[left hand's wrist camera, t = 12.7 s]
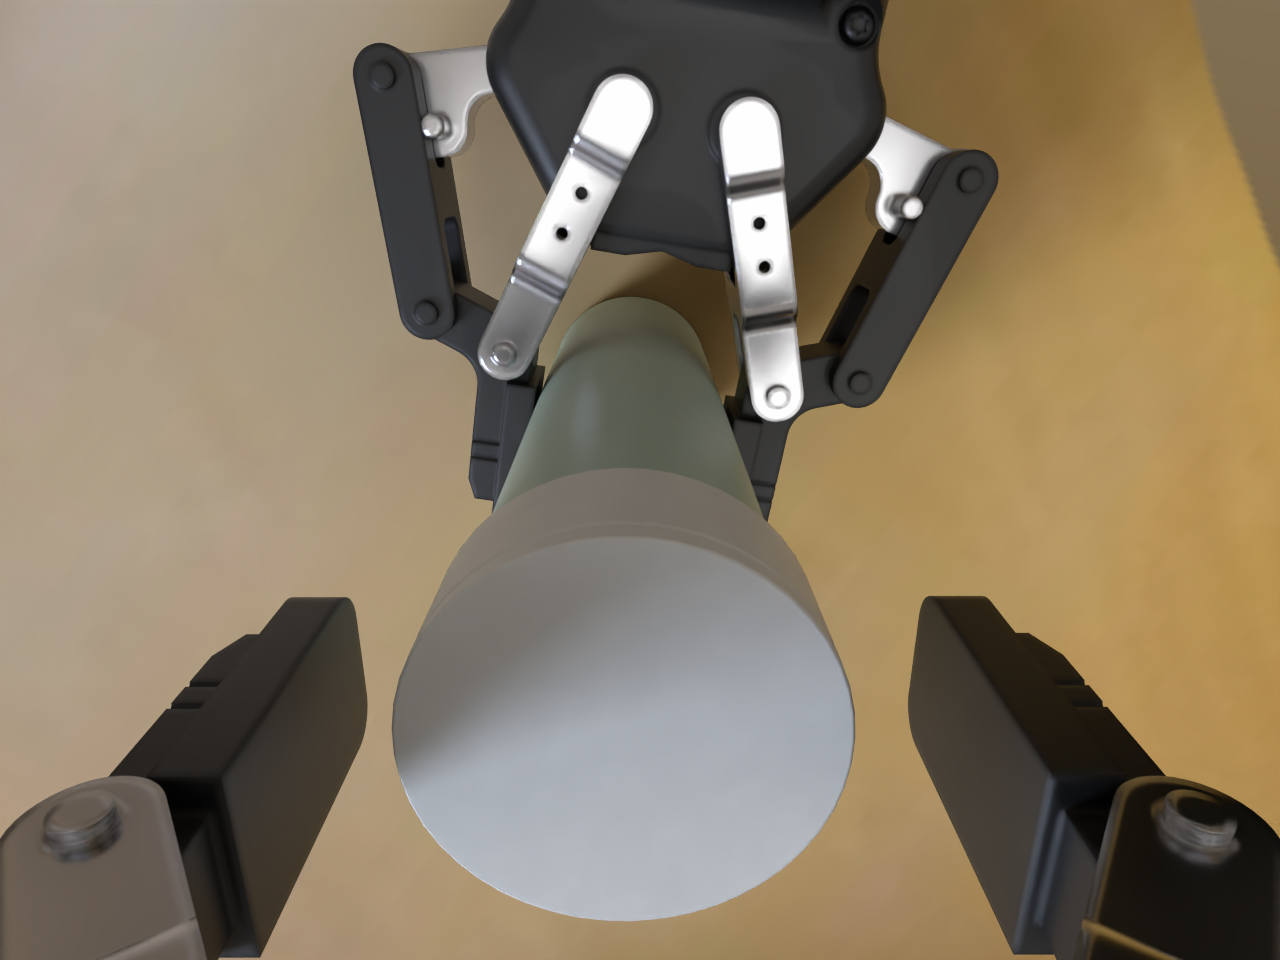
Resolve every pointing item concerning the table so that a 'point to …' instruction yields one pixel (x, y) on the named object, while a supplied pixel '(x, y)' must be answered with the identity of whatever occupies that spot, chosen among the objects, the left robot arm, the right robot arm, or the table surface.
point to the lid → (624, 700)
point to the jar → (630, 405)
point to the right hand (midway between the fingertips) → (615, 526)
